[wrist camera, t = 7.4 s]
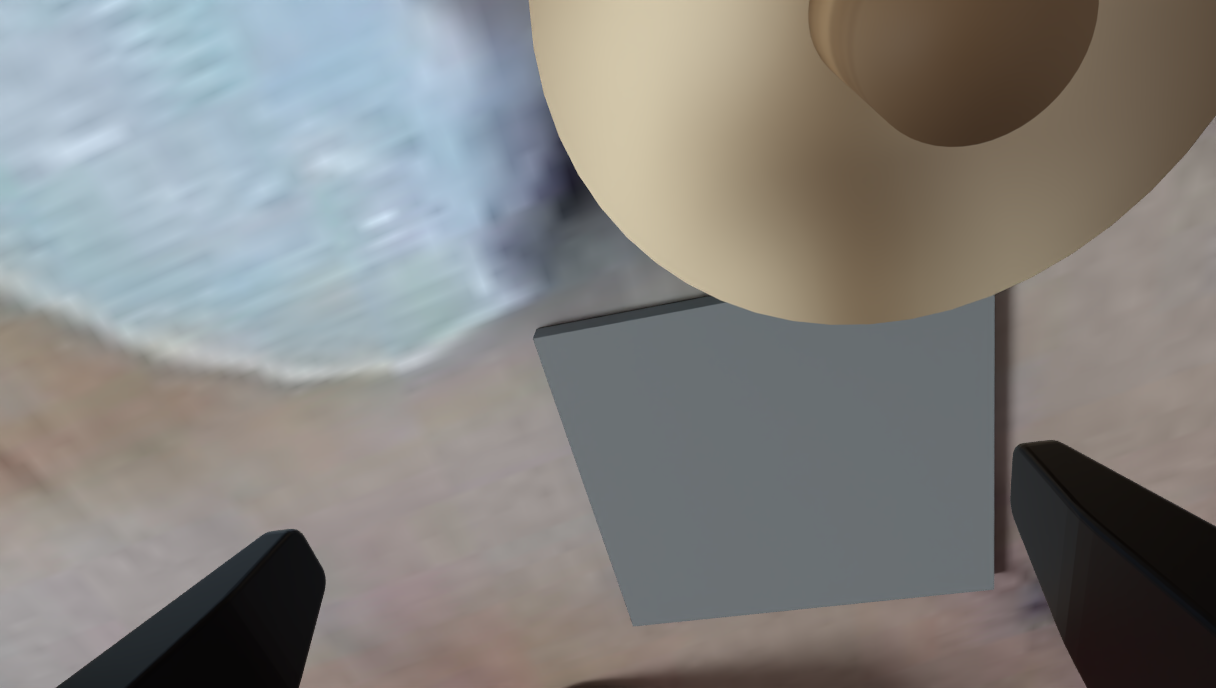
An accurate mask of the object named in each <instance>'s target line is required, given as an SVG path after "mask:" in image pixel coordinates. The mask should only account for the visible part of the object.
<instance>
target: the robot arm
mask: <svg viewBox="0 0 1216 688" xmlns="http://www.w3.org/2000/svg"><path fill="white" fill-rule="evenodd" d="M1010 501H1011V509H1012V513H1013V517H1014V520H1015V523H1016V525H1017V528H1018V530H1019V533H1020V535H1021V538H1022V540H1023V543H1024V545H1025V548H1026V550H1027V553H1028V555H1029V558H1030V560H1031V563H1032V565H1033V568H1034V570H1035V573H1036V575H1037V578H1038V581H1039V583H1040V586H1041V588H1042V591H1043V593H1044V596H1045V598H1046V601H1047V603H1048V606H1049V608H1050V611H1051V613H1052V616H1053V618H1054V621H1055V623H1056V626H1057V628H1058V630H1059V633H1060V635H1061V637H1062V640H1063V642H1064V644H1065V646H1066V648H1067V650H1068V652H1069V654H1070V656H1071V658H1072V660H1073V662H1074V664H1075V666H1076V668H1077V670H1078V672H1079V674H1080V676H1081V677H1082V679H1083V681H1084V683H1085V685H1086V687H1087V688H1216V526H1214V525H1212V524H1210V523H1209V522H1207V521H1205V520H1203V519H1201V518H1199V517H1198V516H1196V515H1194V514H1192V513H1190V512H1188V511H1187V510H1185V509H1183V508H1181V507H1179V506H1177V505H1176V504H1174V503H1172V502H1170V501H1168V500H1166V499H1164V498H1163V497H1161V496H1159V495H1157V494H1155V493H1153V492H1152V491H1150V490H1148V489H1146V488H1144V487H1142V486H1141V485H1139V484H1137V483H1135V482H1133V481H1131V480H1130V479H1128V478H1126V477H1124V476H1122V475H1120V474H1119V473H1117V472H1115V471H1113V470H1111V469H1109V468H1107V467H1106V466H1104V465H1102V464H1100V463H1098V462H1096V461H1095V460H1093V459H1091V458H1089V457H1087V456H1085V455H1084V454H1082V453H1080V452H1078V451H1076V450H1074V449H1073V448H1071V447H1069V446H1067V445H1065V444H1063V443H1061V442H1059V441H1055V440H1046V441H1038V442H1029V443H1022V444H1019V445H1018V446H1017V447H1015V450H1014V453H1013V461H1012V479H1011V496H1010ZM325 584H326V580H325V573H324V570H323V568H322V566H321V564H320V563H319V561H318V559H317V558H316V556H315V554H314V552H313V551H312V549H311V547H310V545H309V544H308V542H307V540H306V538H305V537H304V535H303V534H302V533H301V532H299V531H298V530H295V529H286V530H278V531H271V532H267V533H265V534H263V535H262V536H260V537H259V538H258V539H256V540H255V541H254V542H252V543H251V544H250V545H248V546H247V547H246V548H244V549H243V550H242V551H240V552H239V553H237V554H236V555H235V556H233V557H232V558H231V559H229V560H228V561H227V562H225V563H224V564H223V565H221V566H220V567H219V568H217V569H216V570H214V571H213V572H212V573H210V574H209V575H208V576H206V577H205V578H204V579H202V580H201V581H200V582H198V583H197V584H195V585H194V586H193V587H191V588H190V589H189V590H187V591H186V592H185V593H183V594H182V595H181V596H179V597H178V598H177V599H175V600H174V601H172V602H171V603H170V604H168V605H167V606H166V607H164V608H163V609H162V610H160V611H159V612H158V613H156V614H155V615H154V616H152V617H151V618H149V619H148V620H147V621H145V622H144V623H143V624H141V625H140V626H139V627H137V628H136V629H135V630H133V631H132V632H131V633H129V634H128V635H126V636H125V637H124V638H122V639H121V640H120V641H118V642H117V643H116V644H114V645H113V646H112V647H110V648H109V649H107V650H106V651H105V652H103V653H102V654H101V655H99V656H98V657H97V658H95V659H94V660H93V661H91V662H90V663H89V664H87V665H86V666H84V667H83V668H82V669H80V670H79V671H78V672H76V673H75V674H74V675H72V676H71V677H70V678H68V679H67V680H66V681H64V682H63V683H61V684H60V685H59V686H57V687H56V688H299V685H300V682H301V678H302V674H303V671H304V667H305V663H306V659H307V656H308V652H309V648H310V644H311V640H312V637H313V633H314V629H315V625H316V622H317V618H318V614H319V610H320V606H321V603H322V599H323V595H324V591H325Z"/></svg>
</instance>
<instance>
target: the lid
mask: <svg viewBox="0 0 1216 688" xmlns="http://www.w3.org/2000/svg"><path fill="white" fill-rule="evenodd" d="M529 7H530V17H531V26H532V36H533V46H534V52H535V56H536V61H537V65H538V69H539V74H540V78H541V83H542V87H543V92H544V95H545V98H546V101H547V104H548V107H549V109H550V112H551V115H552V118H553V121H554V123H555V126H556V129H557V132H558V135H559V137H560V139H561V141H562V143H563V145H564V147H565V149H566V151H567V153H568V155H569V157H570V159H571V161H572V163H573V165H574V167H575V169H576V171H577V173H578V174H579V176H580V177H581V179H582V180H583V182H584V183H585V185H586V186H587V188H588V189H589V191H590V192H591V194H592V195H593V197H594V198H595V200H596V201H597V203H598V204H599V206H600V207H601V208H602V209H603V211H604V212H605V213H606V214H607V215H608V216H609V217H610V219H611V220H612V221H613V222H614V223H615V224H616V225H617V226H618V228H619V229H620V230H621V231H622V232H623V233H624V234H625V236H626V237H627V238H628V239H630V240H631V241H632V242H633V243H634V244H635V245H636V246H638V247H639V248H640V249H641V250H642V251H643V252H644V253H646V254H647V255H648V256H649V257H650V258H651V259H652V260H653V261H655V262H656V263H657V264H659V265H660V266H662V267H663V268H665V269H666V270H668V271H669V272H671V273H672V274H674V275H675V276H677V277H678V278H680V279H681V280H683V281H684V282H686V283H687V284H689V285H691V286H693V287H695V288H697V289H699V290H701V291H703V292H705V293H707V294H709V295H711V296H713V297H715V298H717V299H719V300H721V301H724V302H727V303H730V304H732V305H735V306H738V307H741V308H744V309H747V310H749V311H752V312H755V313H759V314H764V315H768V316H773V317H777V318H782V319H786V320H791V321H798V322H808V323H818V324H828V325H855V324H876V323H885V322H893V321H901V320H909V319H914V318H918V317H922V316H927V315H931V314H935V313H940V312H944V311H948V310H952V309H955V308H958V307H961V306H963V305H966V304H969V303H972V302H975V301H978V300H981V299H984V298H987V297H990V296H992V295H994V294H997V293H999V292H1001V291H1003V290H1005V289H1008V288H1010V287H1012V286H1014V285H1016V284H1018V283H1021V282H1023V281H1025V280H1027V279H1029V278H1031V277H1033V276H1035V275H1037V274H1038V273H1040V272H1042V271H1044V270H1045V269H1047V268H1049V267H1050V266H1052V265H1054V264H1056V263H1057V262H1059V261H1061V260H1062V259H1064V258H1066V257H1068V256H1069V255H1071V254H1073V253H1074V252H1076V251H1077V250H1078V249H1080V248H1081V247H1082V246H1084V245H1085V244H1087V243H1088V242H1089V241H1091V240H1092V239H1094V238H1095V237H1096V236H1098V235H1099V234H1100V233H1102V232H1103V231H1105V230H1106V229H1107V228H1109V227H1110V226H1112V225H1113V224H1114V223H1115V222H1116V221H1117V220H1119V219H1120V218H1121V217H1122V216H1123V215H1124V214H1125V213H1127V212H1128V211H1129V210H1130V209H1131V208H1132V207H1133V206H1134V205H1136V204H1137V203H1138V202H1139V201H1140V200H1141V199H1142V198H1144V197H1145V196H1146V195H1147V194H1148V193H1149V192H1150V191H1151V190H1152V189H1153V188H1154V187H1155V186H1156V185H1157V184H1158V183H1159V182H1160V181H1161V180H1162V179H1163V178H1164V177H1165V176H1166V174H1167V173H1168V172H1169V171H1170V170H1171V169H1172V168H1173V167H1174V166H1175V165H1176V164H1177V163H1178V162H1179V161H1180V160H1181V159H1182V157H1183V156H1184V155H1185V154H1186V153H1187V152H1188V151H1189V149H1190V148H1191V147H1192V145H1193V144H1194V143H1195V142H1196V140H1197V139H1198V138H1199V136H1200V135H1201V134H1202V133H1203V131H1204V130H1205V129H1206V127H1207V126H1208V125H1209V123H1210V122H1211V121H1212V120H1213V118H1214V117H1215V116H1216V0H529Z"/></svg>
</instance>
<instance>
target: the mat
mask: <svg viewBox="0 0 1216 688" xmlns="http://www.w3.org/2000/svg"><path fill="white" fill-rule="evenodd" d="M533 340H534V343H535V346H536V349H537V352H538V354H539V357H540V360H541V363H542V366H543V369H544V372H545V375H546V377H547V380H548V383H549V386H550V389H551V392H552V395H553V397H554V400H555V403H556V406H557V409H558V412H559V415H560V418H561V420H562V423H563V426H564V429H565V432H566V435H567V438H568V441H569V443H570V446H571V449H572V452H573V455H574V458H575V461H576V463H577V466H578V469H579V472H580V475H581V478H582V481H583V484H584V486H585V489H586V492H587V495H588V498H589V501H590V504H591V506H592V509H593V512H594V515H595V518H596V521H597V524H598V527H599V529H600V532H601V535H602V538H603V541H604V544H605V547H606V550H607V552H608V555H609V558H610V561H611V564H612V567H613V570H614V572H615V575H616V578H617V581H618V584H619V587H620V590H621V593H622V595H623V598H624V601H625V604H626V607H627V610H628V613H629V615H630V618H631V621H632V624H633V626H642V625H651V624H661V623H671V622H681V621H690V620H700V619H710V618H720V617H729V616H739V615H749V614H759V613H768V612H778V611H788V610H798V609H808V608H817V607H827V606H837V605H847V604H856V603H866V602H876V601H886V600H895V599H905V598H915V597H925V596H934V595H944V594H954V593H964V592H973V591H983V590H993V589H994V358H995V294H994V295H992V296H990V297H987V298H984V299H981V300H978V301H975V302H972V303H969V304H966V305H963V306H961V307H958V308H955V309H952V310H948V311H944V312H940V313H935V314H931V315H927V316H922V317H918V318H914V319H909V320H901V321H893V322H885V323H876V324H855V325H828V324H818V323H808V322H798V321H791V320H786V319H782V318H777V317H773V316H768V315H764V314H759V313H755V312H752V311H749V310H747V309H744V308H741V307H738V306H735V305H732V304H730V303H727V302H724V301H721V300H719V299H717V298H715V297H713V296H708V297H703V298H698V299H692V300H687V301H682V302H677V303H671V304H666V305H661V306H656V307H650V308H645V309H640V310H635V311H629V312H624V313H619V314H614V315H608V316H603V317H598V318H593V319H587V320H582V321H577V322H571V323H566V324H561V325H556V326H550V327H545V328H540V329H536V332H535V335H534V337H533Z"/></svg>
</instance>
